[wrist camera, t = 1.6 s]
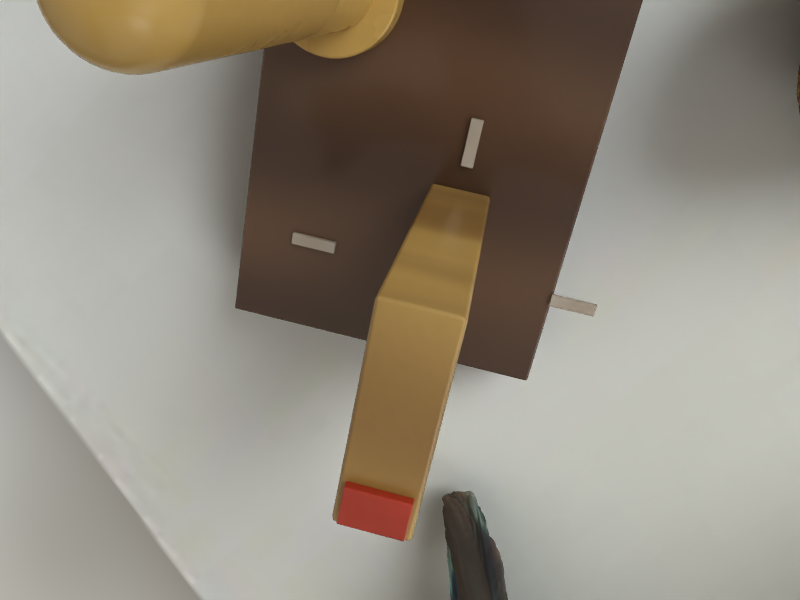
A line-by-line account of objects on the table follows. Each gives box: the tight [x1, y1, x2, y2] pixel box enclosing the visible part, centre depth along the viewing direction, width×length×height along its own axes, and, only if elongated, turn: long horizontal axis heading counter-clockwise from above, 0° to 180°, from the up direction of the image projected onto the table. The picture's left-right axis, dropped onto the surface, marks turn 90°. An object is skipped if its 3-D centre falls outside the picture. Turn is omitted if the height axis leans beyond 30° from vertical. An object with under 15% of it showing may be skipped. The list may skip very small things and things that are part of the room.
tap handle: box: [332, 184, 490, 541], centre depth 19 cm, size 6×2×9 cm, turn 169°
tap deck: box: [235, 0, 643, 380], centre depth 24 cm, size 14×11×3 cm
